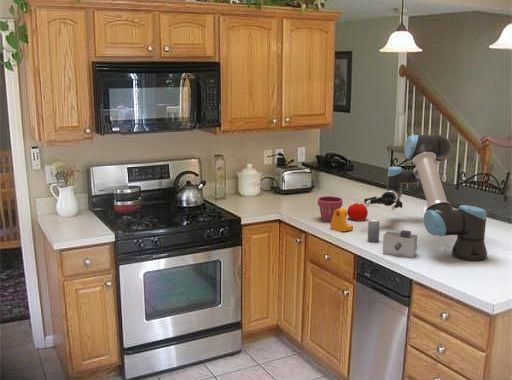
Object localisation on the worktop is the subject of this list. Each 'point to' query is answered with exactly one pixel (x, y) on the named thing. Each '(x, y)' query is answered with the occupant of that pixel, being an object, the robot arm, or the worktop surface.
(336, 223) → the bracket
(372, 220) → the grey cylinder
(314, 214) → the worktop surface
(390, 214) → the worktop surface
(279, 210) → the worktop surface
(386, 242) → the grey toy camera
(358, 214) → the tomato
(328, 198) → the plant pot
